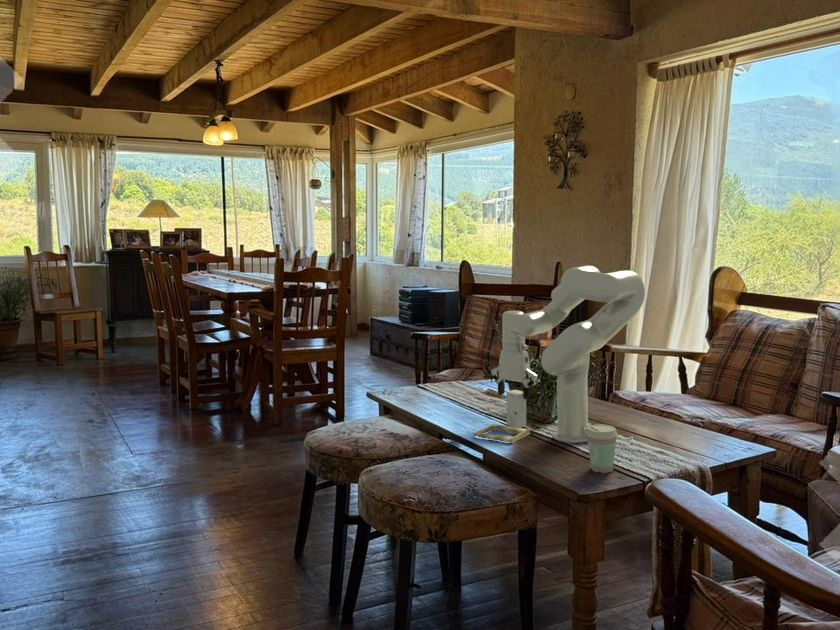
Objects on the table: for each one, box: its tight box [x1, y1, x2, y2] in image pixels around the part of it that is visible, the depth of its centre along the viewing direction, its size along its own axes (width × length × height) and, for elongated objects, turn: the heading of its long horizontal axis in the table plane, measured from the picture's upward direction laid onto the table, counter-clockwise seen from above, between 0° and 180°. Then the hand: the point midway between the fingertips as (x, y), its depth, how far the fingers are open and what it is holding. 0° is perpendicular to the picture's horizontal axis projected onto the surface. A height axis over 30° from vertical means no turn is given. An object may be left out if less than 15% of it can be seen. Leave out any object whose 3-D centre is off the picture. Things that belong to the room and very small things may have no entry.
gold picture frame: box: [473, 423, 531, 443], centre depth 237 cm, size 14×12×2 cm
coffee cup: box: [586, 423, 619, 474], centre depth 202 cm, size 8×8×12 cm
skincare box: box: [505, 389, 527, 428], centre depth 247 cm, size 6×4×12 cm
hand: (513, 396), depth 247 cm, fingers open, 9 cm apart
